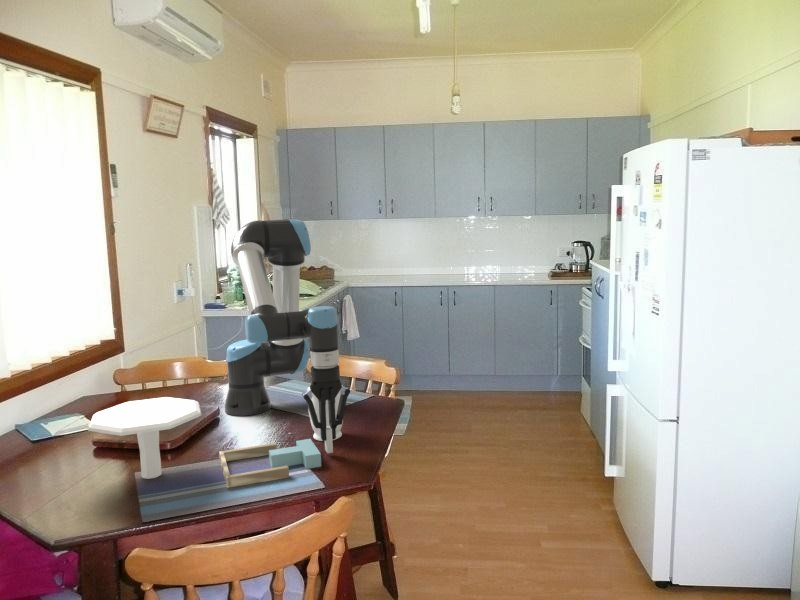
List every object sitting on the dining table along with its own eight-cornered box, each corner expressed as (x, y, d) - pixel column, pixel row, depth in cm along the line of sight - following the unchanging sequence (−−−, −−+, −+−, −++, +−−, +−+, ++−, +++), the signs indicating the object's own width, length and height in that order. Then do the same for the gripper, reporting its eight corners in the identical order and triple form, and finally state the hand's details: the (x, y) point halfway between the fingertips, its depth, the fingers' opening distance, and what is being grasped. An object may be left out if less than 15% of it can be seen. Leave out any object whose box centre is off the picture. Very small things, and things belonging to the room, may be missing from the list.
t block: (267, 457, 171) (266, 445, 171) (311, 450, 175) (310, 438, 175) (274, 474, 160) (273, 461, 160) (321, 466, 164) (320, 453, 164)
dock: (219, 460, 170) (219, 451, 170) (276, 451, 175) (275, 442, 175) (226, 488, 153) (226, 478, 152) (289, 477, 158) (288, 467, 158)
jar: (339, 443, 180) (337, 392, 178) (304, 442, 182) (301, 391, 180) (349, 431, 190) (347, 382, 188) (316, 429, 192) (314, 381, 190)
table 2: (123, 455, 176) (117, 396, 174) (223, 453, 175) (218, 394, 173) (67, 500, 149) (60, 431, 146) (186, 498, 148) (180, 429, 146)
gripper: (303, 371, 162) (308, 460, 165) (352, 365, 167) (356, 452, 170) (297, 365, 169) (302, 450, 172) (344, 359, 173) (348, 442, 177)
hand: (329, 451), depth 171 cm, fingers closed
